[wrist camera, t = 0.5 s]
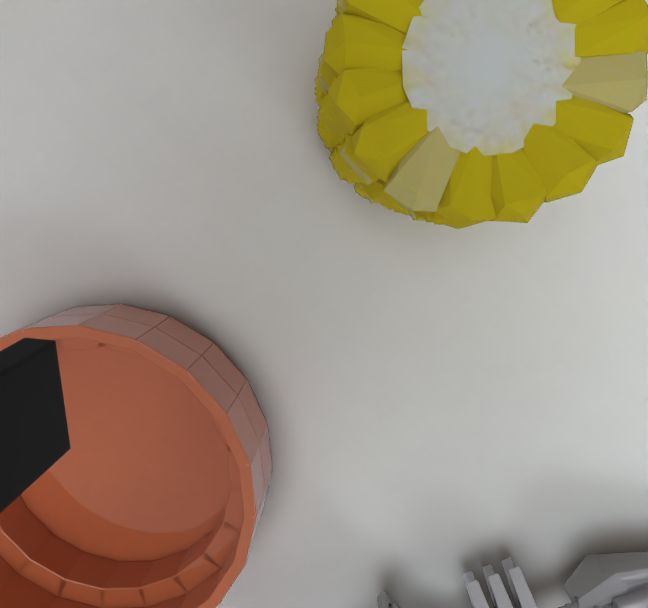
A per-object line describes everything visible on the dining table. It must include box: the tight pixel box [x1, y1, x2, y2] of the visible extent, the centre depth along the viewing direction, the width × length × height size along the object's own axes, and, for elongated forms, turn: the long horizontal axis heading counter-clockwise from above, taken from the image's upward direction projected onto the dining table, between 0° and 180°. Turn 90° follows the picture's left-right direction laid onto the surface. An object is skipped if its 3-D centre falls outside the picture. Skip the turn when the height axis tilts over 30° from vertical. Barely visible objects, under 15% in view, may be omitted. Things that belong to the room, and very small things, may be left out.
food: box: [315, 0, 648, 229], centre depth 23 cm, size 15×12×10 cm
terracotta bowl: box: [0, 304, 272, 608], centre depth 32 cm, size 17×17×6 cm
